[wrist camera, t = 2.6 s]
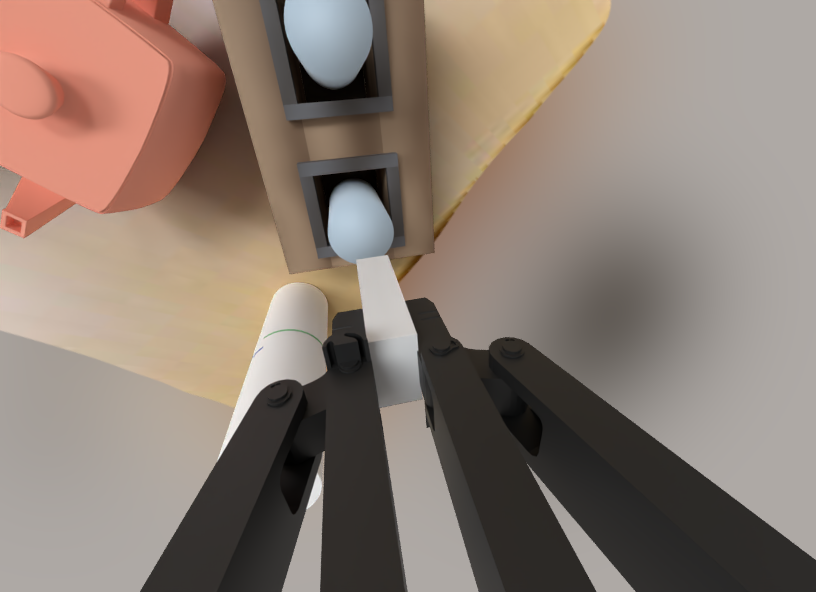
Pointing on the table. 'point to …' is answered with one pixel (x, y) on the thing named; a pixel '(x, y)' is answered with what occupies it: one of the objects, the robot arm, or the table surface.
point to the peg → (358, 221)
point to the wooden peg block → (335, 127)
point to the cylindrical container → (287, 351)
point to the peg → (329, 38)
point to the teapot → (98, 105)
